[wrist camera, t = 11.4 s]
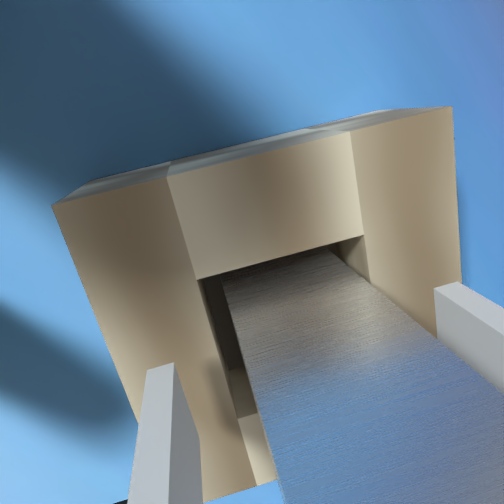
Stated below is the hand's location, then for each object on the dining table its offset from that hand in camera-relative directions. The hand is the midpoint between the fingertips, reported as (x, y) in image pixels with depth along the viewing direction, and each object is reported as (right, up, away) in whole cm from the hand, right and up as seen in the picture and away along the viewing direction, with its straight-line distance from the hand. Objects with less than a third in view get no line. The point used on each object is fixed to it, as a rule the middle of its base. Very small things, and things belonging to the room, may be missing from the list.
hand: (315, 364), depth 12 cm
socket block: (-1, +2, +7) cm, 7 cm away
